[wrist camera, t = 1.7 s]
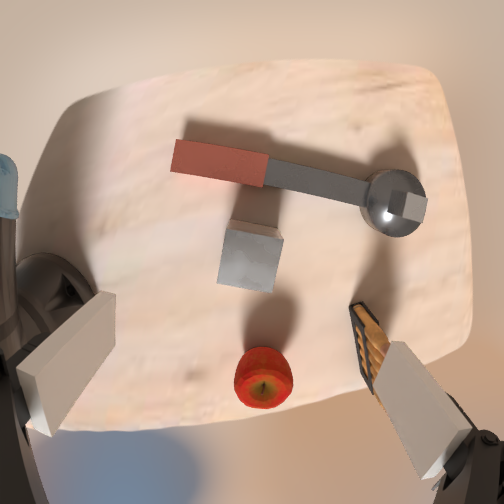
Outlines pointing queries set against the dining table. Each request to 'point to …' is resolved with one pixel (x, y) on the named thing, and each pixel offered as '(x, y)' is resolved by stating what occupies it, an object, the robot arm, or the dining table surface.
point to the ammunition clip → (368, 343)
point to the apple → (263, 378)
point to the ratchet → (312, 183)
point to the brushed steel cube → (250, 256)
